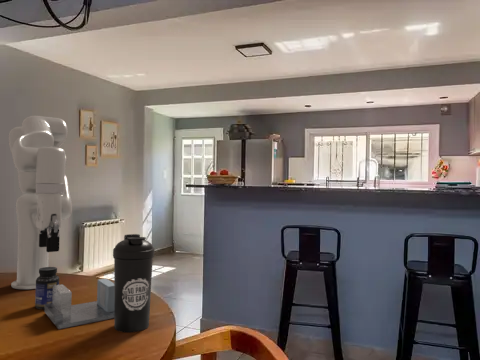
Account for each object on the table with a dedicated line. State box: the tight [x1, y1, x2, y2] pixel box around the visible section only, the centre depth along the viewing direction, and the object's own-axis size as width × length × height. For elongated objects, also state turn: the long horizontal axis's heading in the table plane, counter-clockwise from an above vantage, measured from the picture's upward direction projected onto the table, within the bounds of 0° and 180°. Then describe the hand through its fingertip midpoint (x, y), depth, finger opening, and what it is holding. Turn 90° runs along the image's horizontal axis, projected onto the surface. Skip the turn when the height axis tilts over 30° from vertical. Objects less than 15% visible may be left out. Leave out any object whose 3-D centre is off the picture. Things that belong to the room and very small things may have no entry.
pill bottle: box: [34, 266, 60, 310], centre depth 111 cm, size 6×6×11 cm
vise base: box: [43, 283, 114, 330], centre depth 105 cm, size 14×19×8 cm
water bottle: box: [112, 233, 155, 333], centre depth 98 cm, size 10×10×23 cm
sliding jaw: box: [96, 278, 114, 312], centre depth 109 cm, size 9×2×7 cm, turn 38°
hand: (48, 249), depth 111 cm, fingers open, 9 cm apart
